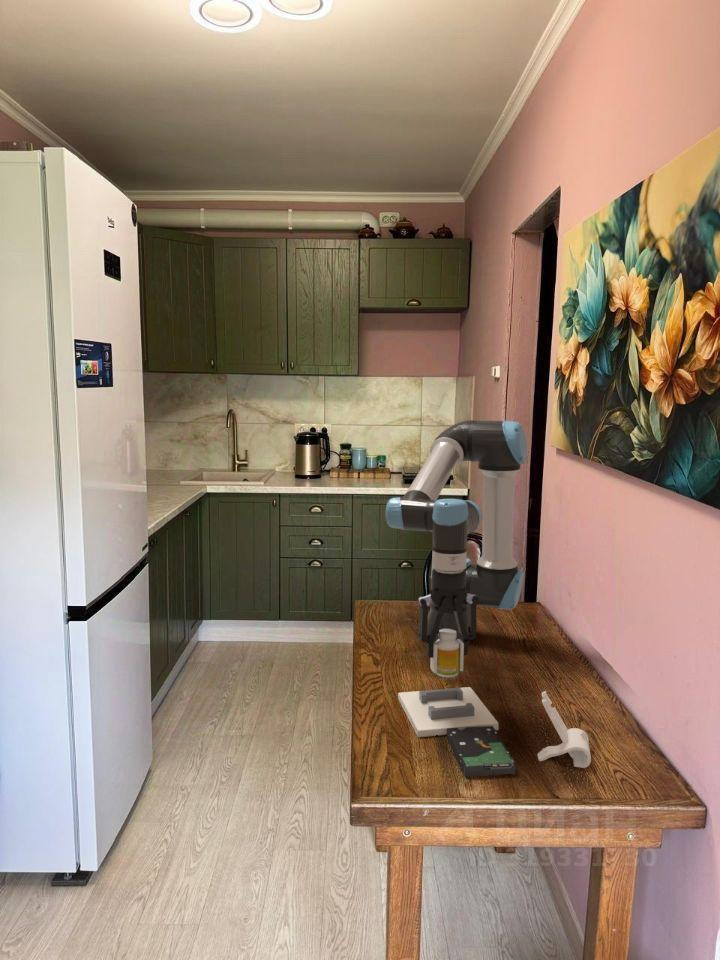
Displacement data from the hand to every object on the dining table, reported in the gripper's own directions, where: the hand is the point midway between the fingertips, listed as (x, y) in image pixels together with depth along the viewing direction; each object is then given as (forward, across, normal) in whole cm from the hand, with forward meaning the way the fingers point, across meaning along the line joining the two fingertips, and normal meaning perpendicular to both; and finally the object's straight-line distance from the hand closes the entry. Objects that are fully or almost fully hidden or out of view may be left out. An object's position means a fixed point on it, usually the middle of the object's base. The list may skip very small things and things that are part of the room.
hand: (446, 669), depth 148 cm
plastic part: (+11, +18, -21) cm, 30 cm away
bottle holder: (+11, 0, 0) cm, 11 cm away
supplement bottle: (+1, 0, 0) cm, 1 cm away
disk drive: (+11, +2, -18) cm, 21 cm away
